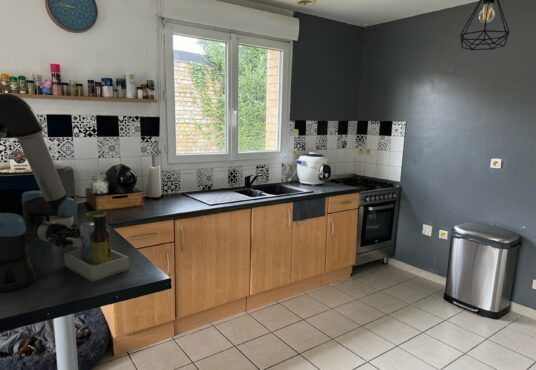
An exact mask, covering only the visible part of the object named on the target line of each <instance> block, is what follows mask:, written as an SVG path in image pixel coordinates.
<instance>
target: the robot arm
mask: <svg viewBox="0 0 536 370" xmlns="http://www.w3.org/2000/svg"><path fill="white" fill-rule="evenodd" d="M8 130H9V132H10V133H11V136H12V138H14V139H17V141H18V142H19V145H20V147H21V150H22V151H23V152H22V153H23V154H24V156H25V158H26V161H27V163H28V165H29V167H30V170H31V173H32V174H33V176H34V178H35V181H36V183H37V186H38V188H39V190H29V191H24V192H23V193H22V194H21V205H22V212H23V213H22V214H23V216H22V215H19V214H17V213H12V212H6V213H5V212H0V293H6V292H12V291H16V290H19V289H24V288H26V287H28V286H30V285H32V284H34V283H35V282H36V280H37V272H36V270H35V268H34V267H33V264H32V263H31V260H30V258H29V250H28V239H30V240H37V241H45V242H47V243H52V244H53V245H54V247H58V248H59V247H61V248H63V249H64V248H67V246H69V247H76V248H81V247H82V239H80V229H79V225H75V227H70V228H68V227H67V226H66V225H65V224H61V223H54V222H50V221H47V217H49V216H52V217H60V218H65V217H72V216H73V215H74V214H75V213H76V211H77V212H78V203H77V200H76V201H75V200H74V199H71V198H67V195H66V193H65V190H64V188H63V185H62V183H61V180H60V178H59V175H58V173H57V170H56V168H57V167H56V166H55V163H54V161H53V158H52V156H51V153H50V150H49V148H48V145H47V143H46V141H45V139H44V136H43V133H42V132H43V131H44V128H43V124H42V123H41V120H40V118H39V116H38V114H37V113H36V112H35V110H34V109H33V107H31V105H30V104H28V103H27V102H26V101H25V100H24V99H22V98H21V97H20V96H18V95H14V94H12V93H0V141H1V140H3V138H5V137H7V133H8ZM106 229H107V228H106ZM107 230H108V232H109V234H110V233H111V231H110V229H109V228H108V229H107ZM110 235H111V234H110ZM61 245H62V246H61Z"/></svg>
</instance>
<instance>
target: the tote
mask: <svg viewBox="0 0 536 370" xmlns="http://www.w3.org/2000/svg"><path fill="white" fill-rule="evenodd" d="M63 255H64V256H63V258H64V267H66V268H67V269H69V270H71V271H73V272H75V273H76V274H78V275H79V274H80V275H79V276H81V277H83V278H85V279H87V280H88V281H90V282H91V283H92V282H93V283H94V282H95V281H99V280H102V279H105V277H106V278H108V276H109V277H112V276H115V275H118V274H117V273H119V274H121V273H120V272H122V273H124V271H125V272H127V270H128V271H130V256H127V255H125V254H123V253H121V252H118V251H116V250H113V249H112V248H111V256H112V261H110V262H106V263H103V264H99V265H95V266H94V265H89V264H87V263H85V262H83V261H82V256H81V249H78V250H72V251H68V252H64V254H63ZM114 274H115V275H114ZM111 275H112V276H111Z"/></svg>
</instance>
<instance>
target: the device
mask: <svg viewBox="0 0 536 370" xmlns="http://www.w3.org/2000/svg"><path fill="white" fill-rule="evenodd" d="M55 168H56V170H57V173H58V175H59V178H60V180H61V183H62V185H63V188H64V190H65V193H66V195H67V198H71V199H74V200H75V201H76V202H77V197H76V184H75V181H76V180H75V171H74V168H73V167H72V166H69V165H68V166H64V167H55ZM78 221H79V220H78V210H77V211H76V213H75V214H74V215H73V224H72V226H79V222H78Z"/></svg>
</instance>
